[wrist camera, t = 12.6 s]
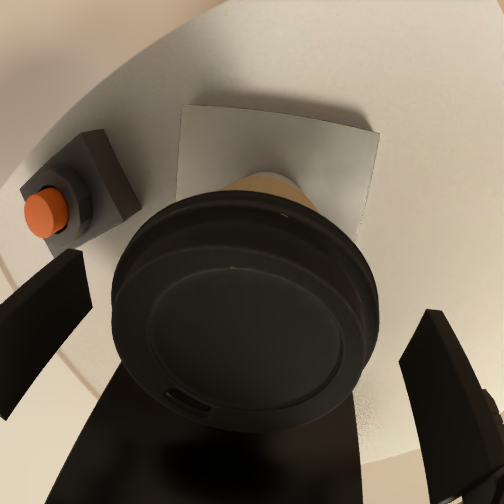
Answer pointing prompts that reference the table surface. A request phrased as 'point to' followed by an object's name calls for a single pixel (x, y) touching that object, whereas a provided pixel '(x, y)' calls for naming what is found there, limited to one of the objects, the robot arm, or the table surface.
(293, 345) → the coffee cup
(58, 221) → the button
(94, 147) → the control block
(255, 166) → the coffee maker
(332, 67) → the table surface
